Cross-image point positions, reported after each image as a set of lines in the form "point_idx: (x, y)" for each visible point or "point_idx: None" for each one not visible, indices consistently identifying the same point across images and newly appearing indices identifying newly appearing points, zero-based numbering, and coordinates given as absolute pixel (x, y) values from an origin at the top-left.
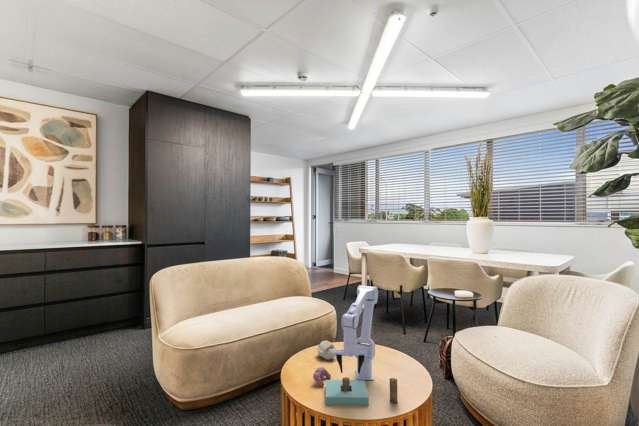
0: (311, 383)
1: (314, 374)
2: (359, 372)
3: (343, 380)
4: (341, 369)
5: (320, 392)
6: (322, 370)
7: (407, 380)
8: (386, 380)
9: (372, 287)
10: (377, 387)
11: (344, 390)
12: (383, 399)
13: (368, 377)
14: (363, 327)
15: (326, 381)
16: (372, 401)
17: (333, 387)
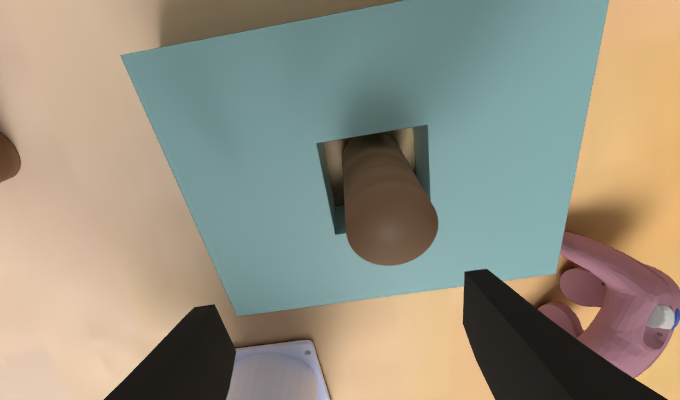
0: (631, 256)
1: (677, 304)
2: (188, 318)
3: (424, 197)
4: (517, 310)
5: (580, 159)
6: None
7: (18, 378)
8: (135, 361)
9: None
10: (165, 290)
11: (391, 150)
12: (73, 162)
13: (239, 364)
14: None
15: (556, 252)
16: (146, 117)
17: (500, 174)
